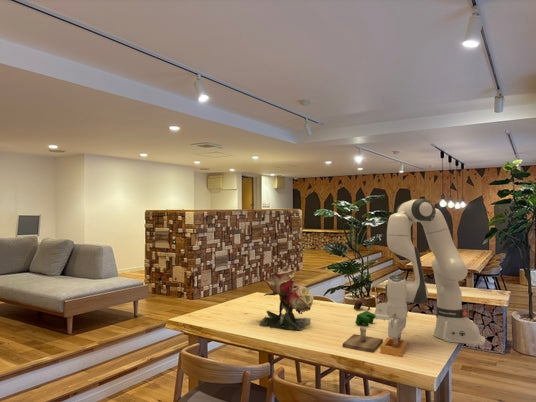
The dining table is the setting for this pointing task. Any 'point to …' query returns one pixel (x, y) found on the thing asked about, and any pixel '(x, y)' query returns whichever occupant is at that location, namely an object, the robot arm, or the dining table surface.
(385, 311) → the hinge
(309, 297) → the rose bouquet
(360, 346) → the keeper board
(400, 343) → the small wooden tray
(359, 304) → the pottery mug
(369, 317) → the green lumpy block
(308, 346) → the dining table surface
